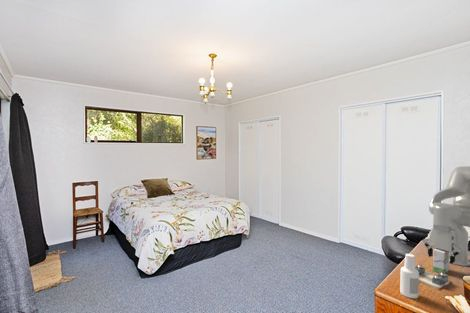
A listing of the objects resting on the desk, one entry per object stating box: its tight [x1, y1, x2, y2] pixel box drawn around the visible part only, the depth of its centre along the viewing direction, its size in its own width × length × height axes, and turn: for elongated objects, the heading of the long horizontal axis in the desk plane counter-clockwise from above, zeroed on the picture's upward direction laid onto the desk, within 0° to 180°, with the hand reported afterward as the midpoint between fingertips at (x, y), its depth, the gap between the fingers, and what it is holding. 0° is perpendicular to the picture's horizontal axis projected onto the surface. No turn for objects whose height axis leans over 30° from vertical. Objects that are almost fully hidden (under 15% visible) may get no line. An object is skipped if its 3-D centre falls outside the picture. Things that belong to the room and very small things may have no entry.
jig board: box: [419, 270, 452, 290], centre depth 127 cm, size 14×14×1 cm
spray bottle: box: [399, 253, 420, 299], centre depth 114 cm, size 7×7×18 cm
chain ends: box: [415, 264, 449, 286], centre depth 127 cm, size 9×13×3 cm
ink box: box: [432, 248, 450, 274], centre depth 137 cm, size 8×5×12 cm, turn 124°
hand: (440, 259), depth 137 cm, fingers open, 9 cm apart
